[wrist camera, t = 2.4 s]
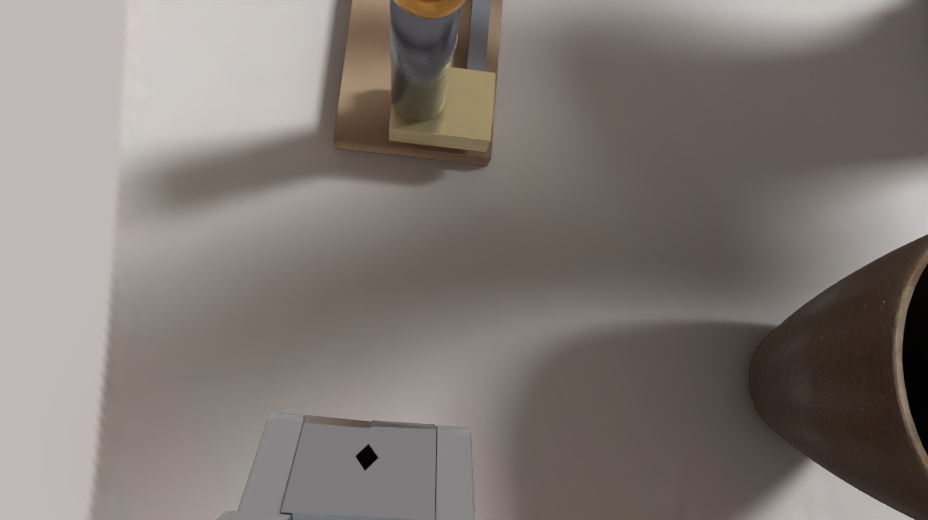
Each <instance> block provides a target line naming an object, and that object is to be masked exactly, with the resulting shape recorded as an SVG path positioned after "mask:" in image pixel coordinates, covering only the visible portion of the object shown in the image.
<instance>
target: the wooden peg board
mask: <svg viewBox="0 0 928 520" xmlns="http://www.w3.org/2000/svg"><path fill="white" fill-rule="evenodd" d="M501 12H502V0H466V1H465V2H464V3H463V5H462V10H461V16H460V21H459V27H458V32H457V38H456V43H455V49H454V54H453V60H452V65H451V67H454V68H462V69H469V70H477V71H484V72H492V73H496V74H495V88H494V101H493V115H492V128H491V141H490V143H489V146H488V148H487V151H486V152H481V151H472V150H464V149H456V148H447V147H439V146H430V145H422V144H414V143H405V142H397V141H389V123H390V114H391V105H392V101H391V61H390V0H352V5H351V13H350V21H349V28H348V36H347V43H346V51H345V58H344V66H343V73H342V81H341V89H340V96H339V104H338V111H337V119H336V126H335V134H334V142H335V146H336V148H339V149H348V150H356V151H365V152H373V153H382V154H391V155H399V156H408V157H416V158H425V159H433V160H442V161H451V162H459V163H468V164H476V165H485V166H487V165H488V163H489V161H490V158H491V148H492V135H493V121H494V107H495V94H496V80H497V67H498V53H499V39H500V26H501Z"/></svg>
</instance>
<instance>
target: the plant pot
mask: <svg viewBox="0 0 928 520" xmlns="http://www.w3.org/2000/svg"><path fill="white" fill-rule="evenodd" d="M749 384H750V391H751V395H752V398H753V401H754V403H755V406H756V408H757V410H758V411H759V413H760V415H761V416H762V418H763V419H764V420H765V421H766V423H767V424H768V425H769V426H770V427H772V428H773V429H774V430H775V431H776V432H777V433H778V434H779V435H780V436H782V437H783V438H784V439H785V440H787V441H788V442H789V443H790V444H791V445H793V446H794V447H795V448H797V449H798V450H799V451H801V452H802V453H803V454H805V455H806V456H807V457H809V458H810V459H812V460H813V461H815V462H816V463H817V464H819V465H820V466H822V467H823V468H825V469H826V470H828V471H829V472H831V473H832V474H834V475H836V476H837V477H839V478H840V479H842V480H844V481H845V482H847V483H848V484H850V485H852V486H854V487H855V488H857V489H859V490H860V491H862V492H864V493H866V494H867V495H869V496H871V497H873V498H874V499H876V500H878V501H880V502H882V503H884V504H886V505H887V506H889V507H891V508H893V509H895V510H897V511H899V512H901V513H903V514H905V515H907V516H909V517H911V518H913V519H915V520H928V235H925V236H923V237H921V238H919V239H917V240H915V241H913V242H911V243H908V244H906V245H904V246H902V247H900V248H898V249H896V250H894V251H892V252H890V253H888V254H886V255H884V256H882V257H881V258H879V259H877V260H875V261H873V262H871V263H869V264H868V265H866V266H864V267H862V268H861V269H859V270H857V271H855V272H854V273H852V274H850V275H849V276H847V277H845V278H843V279H842V280H840V281H839V282H837V283H835V284H834V285H832V286H831V287H829V288H828V289H826V290H825V291H823V292H822V293H820V294H819V295H817V296H816V297H815V298H813V299H812V300H810V301H809V302H808V303H806V304H805V305H803V306H802V307H801V308H799V309H798V310H797V311H796V312H794V313H793V314H792V315H791V316H789V317H788V318H787V319H786V320H785V321H784V322H783V323H781V324H780V325H779V326H778V327H777V328H776V329H775V330H774V331H773V332H772V333H771V334H770V335H769V336H768V337H767V338H766V339H765V340H764V341H763V342H762V343H761V345H760V346H759V347H758V349H757V351H756V352H755V354H754V356H753V359H752V362H751V366H750V374H749Z"/></svg>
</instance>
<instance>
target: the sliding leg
mask: <svg viewBox="0 0 928 520" xmlns="http://www.w3.org/2000/svg"><path fill="white" fill-rule="evenodd" d="M465 1H466V0H390V61H391V101H392V105H391V114H390V123H389V141H397V142H405V143H414V144H422V145H430V146H439V147H447V148H456V149H464V150H472V151H481V152H486V151H487V148H488V146H489V143H490V141H491V128H492V115H493V101H494V88H495V74H496V73H492V72H484V71H477V70H469V69H462V68H454V67H451V65H452V60H453V54H454V49H455V43H456V38H457V32H458V27H459V21H460V16H461V10H462V5H463V3H464V2H465Z"/></svg>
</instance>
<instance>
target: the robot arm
mask: <svg viewBox="0 0 928 520" xmlns="http://www.w3.org/2000/svg"><path fill="white" fill-rule="evenodd" d="M217 520H475V509H474V488H473V467H472V446H471V432H470V430H469V428H468V427H455V426H441V425H437V426H435V424H418V423H402V422H386V421H372V422H369V421H359V420H349V419H339V418H329V417H319V416H309V415H307V416H306V415H295V414H284V413H272V414H271V416H270V417H269V419H268V420H267V422H266V425H265V428H264V431H263V434H262V437H261V441H260V444H259V447H258V450H257V453H256V456H255V459H254V462H253V465H252V468H251V471H250V474H249V477H248V480H247V483H246V486H245V489H244V492H243V495H242V499H241V502H240V505H239V508H238V511H226V512H225V513H224V514H223V515H221V516H220V517H219V518H218V519H217Z"/></svg>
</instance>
